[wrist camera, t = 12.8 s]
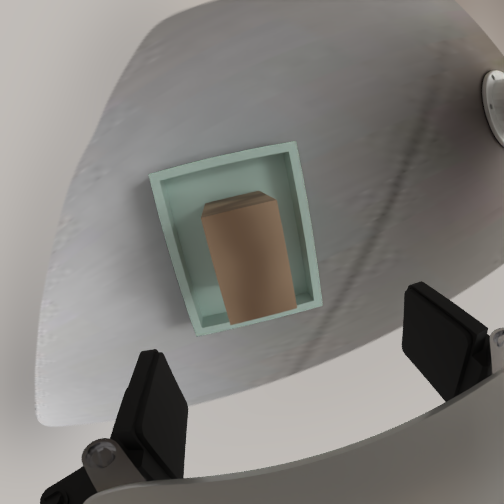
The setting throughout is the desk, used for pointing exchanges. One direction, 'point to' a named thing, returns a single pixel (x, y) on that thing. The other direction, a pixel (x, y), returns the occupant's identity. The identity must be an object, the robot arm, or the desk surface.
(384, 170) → the desk surface
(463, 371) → the robot arm
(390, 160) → the desk surface
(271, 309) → the walnut block
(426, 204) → the desk surface
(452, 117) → the desk surface
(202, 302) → the tray
